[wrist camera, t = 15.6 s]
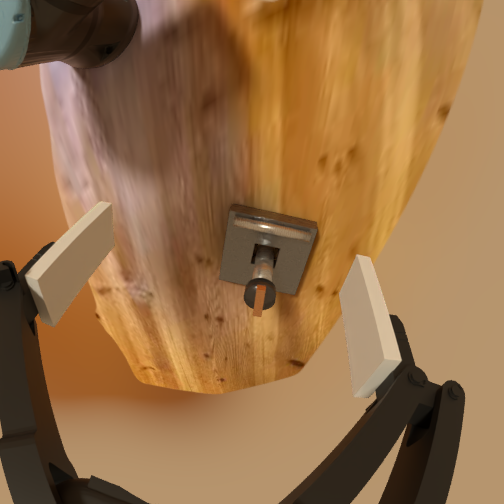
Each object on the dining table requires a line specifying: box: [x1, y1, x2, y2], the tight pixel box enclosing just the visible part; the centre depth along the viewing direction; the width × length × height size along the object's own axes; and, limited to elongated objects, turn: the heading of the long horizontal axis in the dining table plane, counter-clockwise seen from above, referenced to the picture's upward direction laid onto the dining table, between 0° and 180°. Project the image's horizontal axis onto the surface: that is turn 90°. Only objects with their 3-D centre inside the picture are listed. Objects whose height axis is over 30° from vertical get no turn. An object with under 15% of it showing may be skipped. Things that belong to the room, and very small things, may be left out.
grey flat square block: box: [219, 204, 318, 295], centre depth 51 cm, size 14×14×4 cm
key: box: [244, 244, 276, 317], centre depth 47 cm, size 5×4×14 cm
